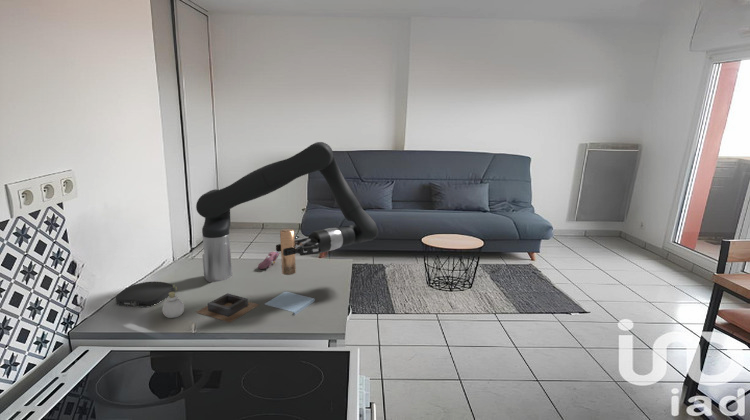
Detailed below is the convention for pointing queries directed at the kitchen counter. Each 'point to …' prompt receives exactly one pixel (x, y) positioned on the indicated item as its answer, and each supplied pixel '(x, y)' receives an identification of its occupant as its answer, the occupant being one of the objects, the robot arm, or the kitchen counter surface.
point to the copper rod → (288, 261)
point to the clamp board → (228, 307)
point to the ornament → (173, 306)
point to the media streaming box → (144, 294)
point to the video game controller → (269, 260)
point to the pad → (290, 302)
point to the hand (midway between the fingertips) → (280, 250)
